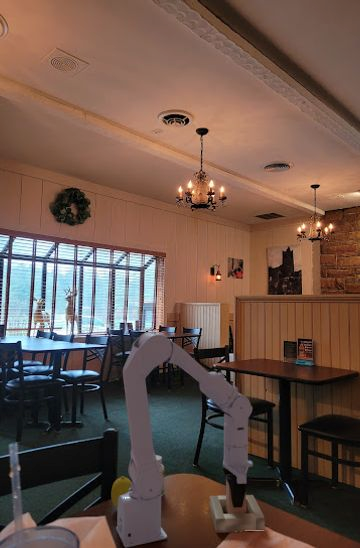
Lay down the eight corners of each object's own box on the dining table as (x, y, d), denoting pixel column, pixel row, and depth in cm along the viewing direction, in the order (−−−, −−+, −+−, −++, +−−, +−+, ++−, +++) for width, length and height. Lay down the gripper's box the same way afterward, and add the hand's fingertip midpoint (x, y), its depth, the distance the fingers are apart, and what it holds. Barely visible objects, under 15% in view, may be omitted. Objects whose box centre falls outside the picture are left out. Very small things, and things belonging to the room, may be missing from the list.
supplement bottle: (158, 488, 113) (159, 452, 114) (167, 496, 109) (168, 459, 109) (140, 492, 111) (141, 456, 112) (149, 501, 106) (149, 462, 107)
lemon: (129, 516, 98) (129, 482, 99) (107, 514, 99) (108, 480, 100) (136, 505, 104) (136, 473, 104) (115, 503, 105) (116, 471, 105)
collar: (216, 532, 92) (216, 518, 92) (209, 508, 103) (209, 495, 103) (264, 531, 92) (264, 517, 93) (253, 507, 103) (253, 495, 104)
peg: (245, 516, 96) (245, 481, 96) (229, 517, 96) (229, 481, 96) (242, 508, 100) (242, 474, 100) (226, 508, 100) (226, 474, 100)
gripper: (259, 454, 92) (259, 517, 91) (245, 433, 106) (245, 488, 105) (228, 454, 91) (228, 518, 91) (218, 434, 106) (218, 488, 105)
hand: (235, 502), depth 98 cm, fingers closed on peg, 4 cm apart
